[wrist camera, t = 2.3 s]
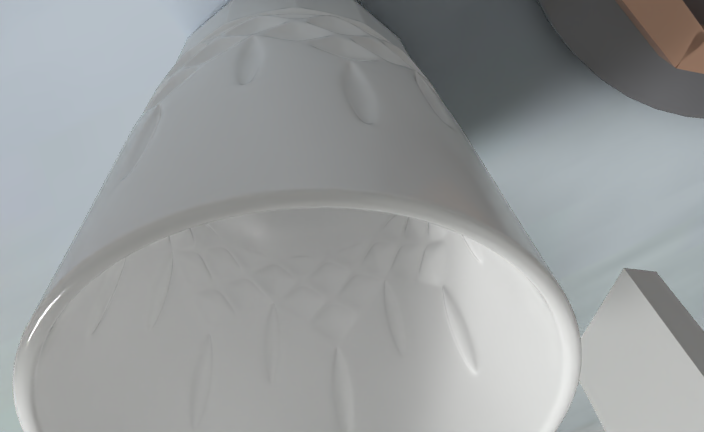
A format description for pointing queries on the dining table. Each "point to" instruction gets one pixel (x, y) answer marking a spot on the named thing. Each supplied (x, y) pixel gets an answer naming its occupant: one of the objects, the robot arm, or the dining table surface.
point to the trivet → (639, 47)
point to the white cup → (298, 255)
